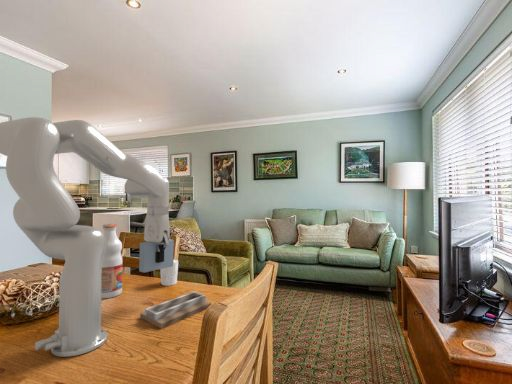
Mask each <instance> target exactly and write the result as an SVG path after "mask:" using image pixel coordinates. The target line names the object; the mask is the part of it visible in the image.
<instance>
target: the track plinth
mask: <svg viewBox="0 0 512 384" xmlns="http://www.w3.org/2000/svg"><path fill="white" fill-rule="evenodd" d="M210 305H211V306H212V302H211V301H208V300H207V295H205V294H203V293H200V292H197V291H191V292H189V293H186V294H183V295H180V296H178V297H175V298H172V299H169V300H166V301H163V302H159V303H158V304H156V305H152V306H150V307H147V308H145V309H144V311H142V312H140V313H139V317H140V318H141V319H142V320H144V321H146V322H148V324H149V323H150V324H151V325H153V326H155V327H157V328H159V329H161V330H162V329H165V328H167V327H168V326H170V325H173V324H175V323H178V322H180V321H182V320H185V319H187V318H190V317H191V316H194V315H196V314H198V313H200V312H203V311H205V310H207V308H208V307H209V306H210ZM208 309H209V308H208Z"/></svg>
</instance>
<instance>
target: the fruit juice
mask: <svg viewBox="0 0 512 384" xmlns="http://www.w3.org/2000/svg"><path fill="white" fill-rule="evenodd" d="M102 230H103V232H102V233H103V234H104V236H105V239H106V248H105V252H104V257H103V262H102V276H101V299H111V298H115V297H117V296H120V295H121V294H122V292H123V256H122V249H123V242H122V241H121V240H120V239H119V238H118V235H117V224H114V223H110V224H103V225H102Z"/></svg>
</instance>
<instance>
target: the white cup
mask: <svg viewBox="0 0 512 384" xmlns="http://www.w3.org/2000/svg"><path fill="white" fill-rule="evenodd" d="M159 271H160V272H159V273H160V284H161V285H162V286H165V287H166V286H168V287H169V286H175V285H176V284H177V283H178V274H179V273H178V271H179V259H174V258H173V266H172V267H167V268H163V269H159Z"/></svg>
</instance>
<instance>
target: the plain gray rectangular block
mask: <svg viewBox="0 0 512 384" xmlns="http://www.w3.org/2000/svg"><path fill="white" fill-rule="evenodd" d="M174 241H175V240H174V239H170V238H169V245H168V246H167V247H166V248H165V251H164V262H160V263H156V252H157V244H155V243H152V242H146V241H145V242H143V241H142V242H139V256H138V257H139V260H138V261H139V262H138V263H139V265H138V267H139V269H138V271H139V272H142V273H149V272H152V271H153V272H154V271H156V270H157V271H158V270H160V269H163V268H167V267H172V266H173V259H174V251H175V250H174V249H175V248H174V247H175V245H174V243H175V242H174ZM161 242H162V241H161ZM161 242H160V243H161ZM161 245H162V244H160V246H161Z"/></svg>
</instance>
